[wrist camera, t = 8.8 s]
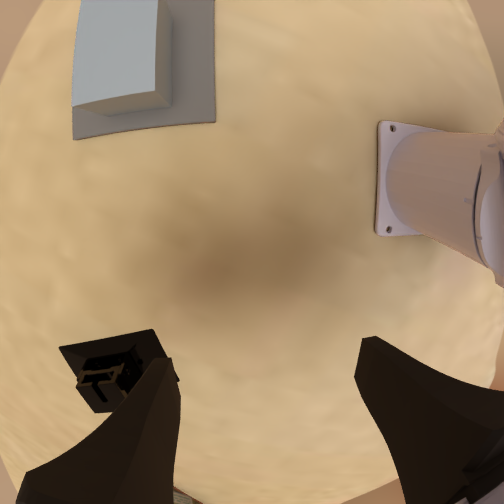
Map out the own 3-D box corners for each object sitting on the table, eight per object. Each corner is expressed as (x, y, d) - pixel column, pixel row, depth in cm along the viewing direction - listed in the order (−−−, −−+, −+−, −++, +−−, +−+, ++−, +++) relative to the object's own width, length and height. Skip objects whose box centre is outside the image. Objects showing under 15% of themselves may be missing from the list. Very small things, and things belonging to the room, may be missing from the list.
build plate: (169, 309, 21) (161, 347, 17) (202, 381, 23) (202, 422, 19) (44, 338, 21) (22, 370, 16) (84, 398, 23) (70, 433, 19)
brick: (172, 19, 13) (159, -19, 9) (171, 106, 15) (155, 90, 11) (110, 30, 13) (81, -1, 8) (107, 116, 15) (71, 106, 10)
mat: (214, -3, 14) (214, -7, 13) (215, 122, 17) (215, 121, 16) (82, 19, 13) (79, 16, 12) (76, 140, 16) (73, 140, 15)
